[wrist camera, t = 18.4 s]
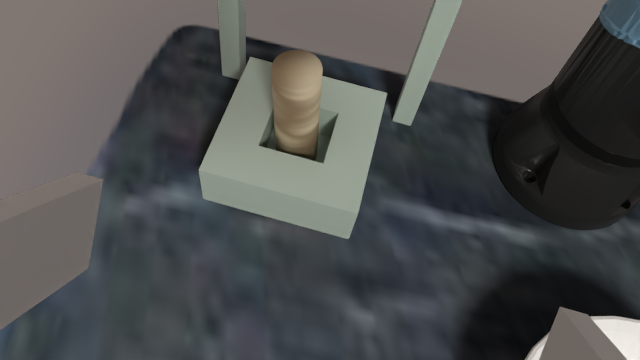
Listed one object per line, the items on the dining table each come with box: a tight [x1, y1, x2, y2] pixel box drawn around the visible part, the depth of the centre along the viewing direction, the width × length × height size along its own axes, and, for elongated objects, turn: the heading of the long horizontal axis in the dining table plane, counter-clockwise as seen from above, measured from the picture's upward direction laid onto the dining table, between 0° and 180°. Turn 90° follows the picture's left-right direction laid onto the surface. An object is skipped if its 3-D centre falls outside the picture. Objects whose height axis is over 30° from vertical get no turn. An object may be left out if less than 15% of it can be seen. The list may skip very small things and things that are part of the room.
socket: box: [199, 0, 463, 239], centre depth 41 cm, size 22×17×30 cm
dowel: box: [271, 50, 323, 161], centre depth 46 cm, size 4×4×12 cm
